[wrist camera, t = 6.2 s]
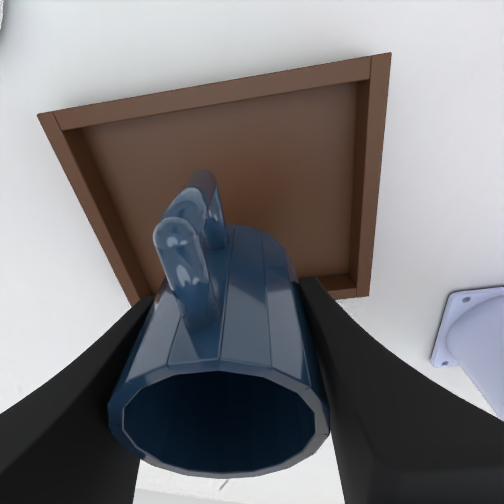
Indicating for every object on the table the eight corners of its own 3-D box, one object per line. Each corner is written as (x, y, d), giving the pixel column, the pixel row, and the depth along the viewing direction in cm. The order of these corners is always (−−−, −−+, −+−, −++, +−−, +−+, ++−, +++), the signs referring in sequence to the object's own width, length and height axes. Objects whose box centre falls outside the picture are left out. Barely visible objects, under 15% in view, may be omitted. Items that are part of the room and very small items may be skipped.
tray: (372, 56, 13) (392, 51, 11) (357, 276, 19) (369, 296, 17) (63, 110, 14) (34, 114, 12) (148, 301, 20) (138, 322, 18)
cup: (298, 316, 14) (330, 472, 8) (190, 328, 14) (151, 484, 9) (284, 145, 10) (332, 227, 4) (131, 169, 10) (-18, 273, 4)
